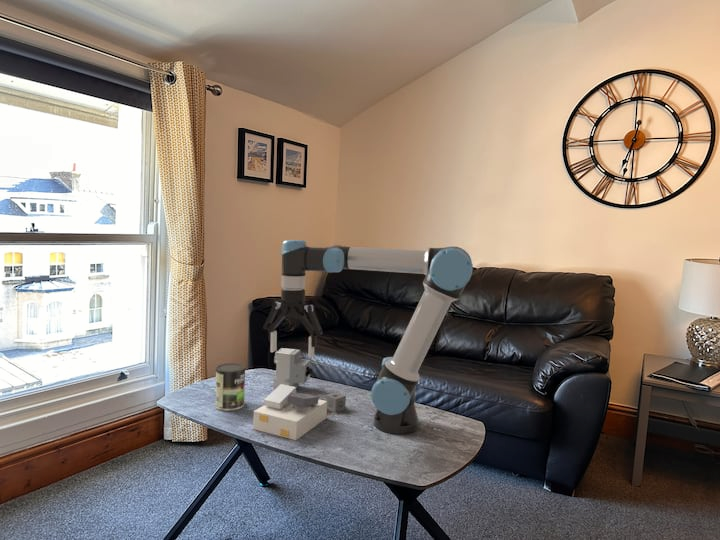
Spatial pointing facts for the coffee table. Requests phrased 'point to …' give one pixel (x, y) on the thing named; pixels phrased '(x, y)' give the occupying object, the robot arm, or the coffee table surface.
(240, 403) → the coffee can
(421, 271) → the robot arm
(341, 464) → the coffee table surface
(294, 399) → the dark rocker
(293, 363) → the circuit breaker
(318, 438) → the coffee table surface
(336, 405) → the dice cube
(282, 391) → the block
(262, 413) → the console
